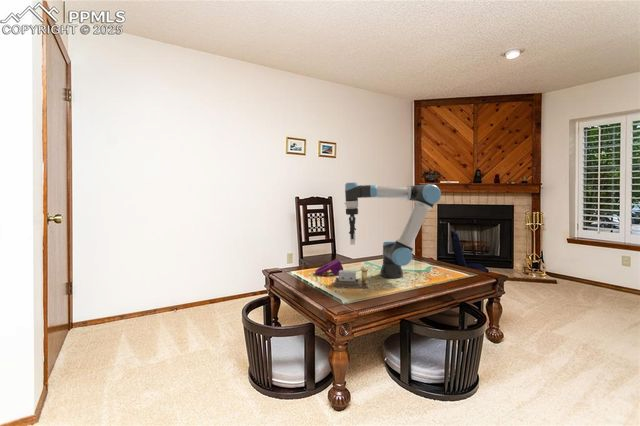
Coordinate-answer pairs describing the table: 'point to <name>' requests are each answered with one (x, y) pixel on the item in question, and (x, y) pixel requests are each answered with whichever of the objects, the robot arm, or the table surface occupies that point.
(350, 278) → the grey block with holes
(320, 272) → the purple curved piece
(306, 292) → the table surface
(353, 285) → the hinge base
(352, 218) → the robot arm
